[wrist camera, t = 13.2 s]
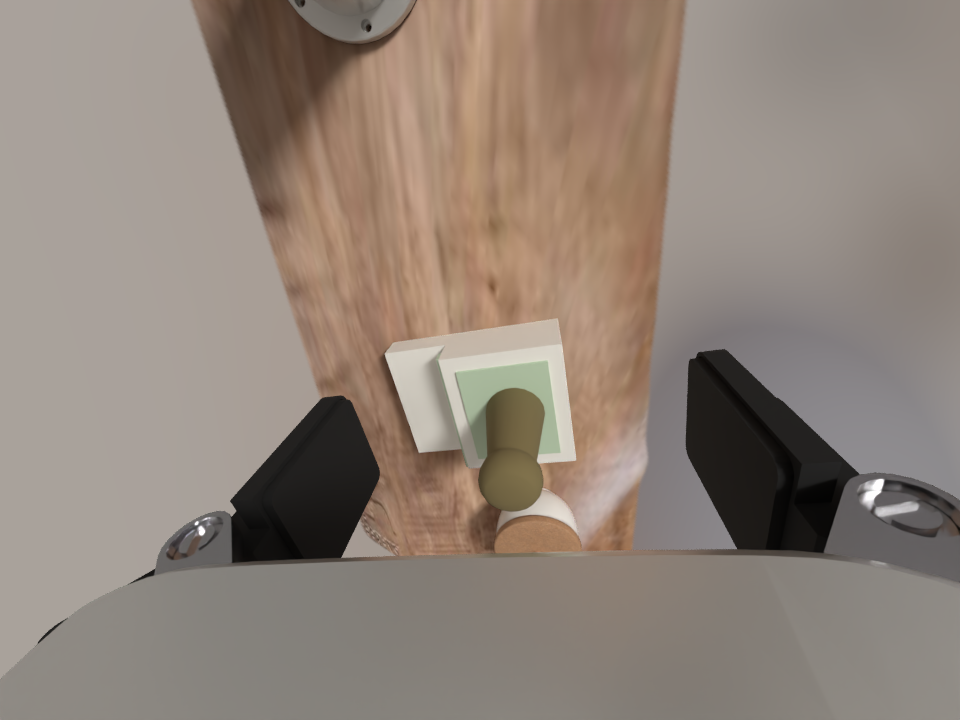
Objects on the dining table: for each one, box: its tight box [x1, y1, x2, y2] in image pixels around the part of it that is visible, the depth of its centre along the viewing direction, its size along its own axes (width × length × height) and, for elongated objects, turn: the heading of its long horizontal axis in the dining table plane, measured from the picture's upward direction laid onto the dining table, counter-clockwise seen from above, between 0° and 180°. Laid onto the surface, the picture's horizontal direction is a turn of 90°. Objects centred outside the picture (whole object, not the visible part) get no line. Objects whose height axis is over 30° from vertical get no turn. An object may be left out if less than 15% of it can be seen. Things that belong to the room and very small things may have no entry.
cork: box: [478, 388, 545, 512], centre depth 34 cm, size 6×6×11 cm
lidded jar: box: [494, 488, 582, 553], centre depth 49 cm, size 11×11×9 cm
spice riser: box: [385, 318, 576, 468], centre depth 43 cm, size 14×19×7 cm
